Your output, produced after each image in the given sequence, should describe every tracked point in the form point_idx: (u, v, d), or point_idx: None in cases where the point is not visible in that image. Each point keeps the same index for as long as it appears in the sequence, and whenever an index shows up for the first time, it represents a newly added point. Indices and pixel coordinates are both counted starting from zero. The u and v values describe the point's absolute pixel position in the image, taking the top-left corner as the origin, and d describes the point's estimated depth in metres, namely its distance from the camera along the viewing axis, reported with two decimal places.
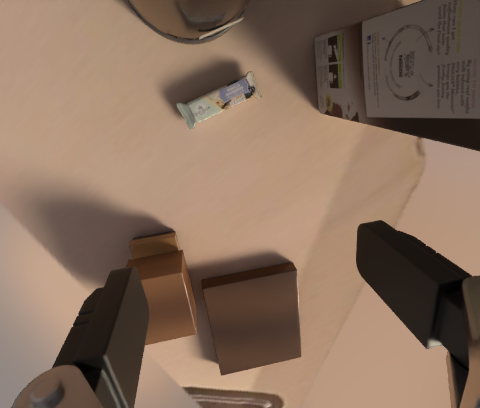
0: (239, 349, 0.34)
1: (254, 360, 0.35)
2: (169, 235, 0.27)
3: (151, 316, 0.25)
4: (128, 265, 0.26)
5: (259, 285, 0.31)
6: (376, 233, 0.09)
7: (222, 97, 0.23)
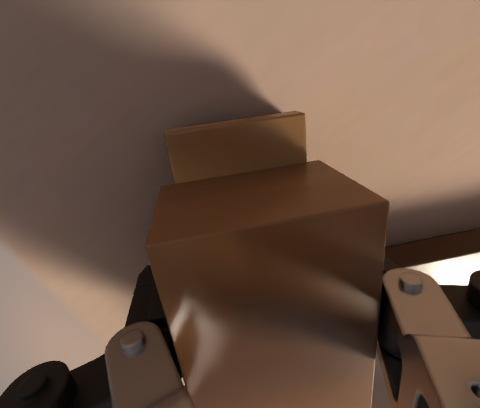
0: None
1: None
2: (284, 113, 0.09)
3: (248, 369, 0.07)
4: (164, 196, 0.08)
5: (474, 271, 0.12)
6: None
7: None
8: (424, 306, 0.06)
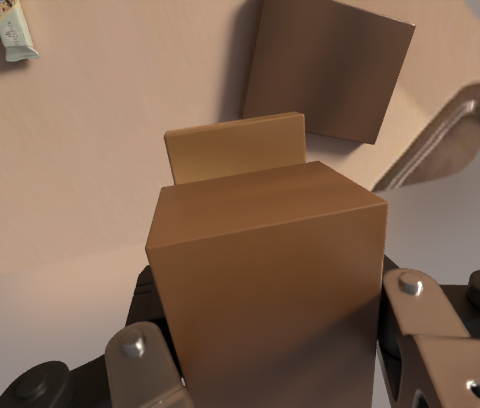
0: (349, 108, 0.26)
1: (378, 95, 0.26)
2: (283, 114, 0.09)
3: (248, 370, 0.07)
4: (164, 197, 0.08)
5: (267, 46, 0.23)
6: None
7: None
8: (424, 306, 0.06)
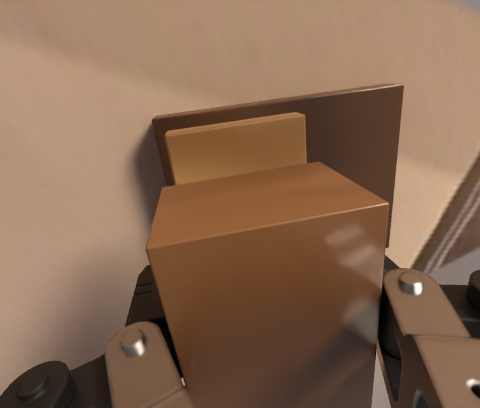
0: None
1: (374, 191, 0.17)
2: (284, 115, 0.09)
3: (248, 370, 0.07)
4: (164, 197, 0.08)
5: None
6: None
7: None
8: (424, 306, 0.06)
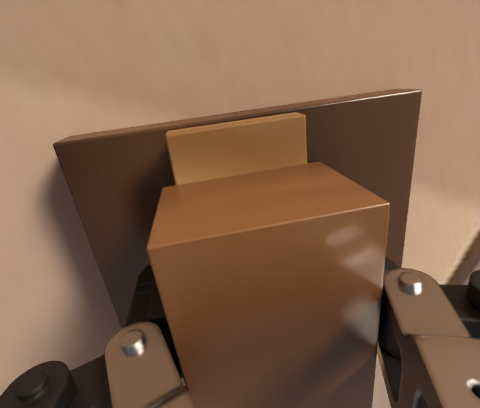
0: None
1: None
2: (284, 115, 0.09)
3: (249, 370, 0.07)
4: (165, 197, 0.08)
5: (120, 248, 0.11)
6: None
7: None
8: (424, 306, 0.06)
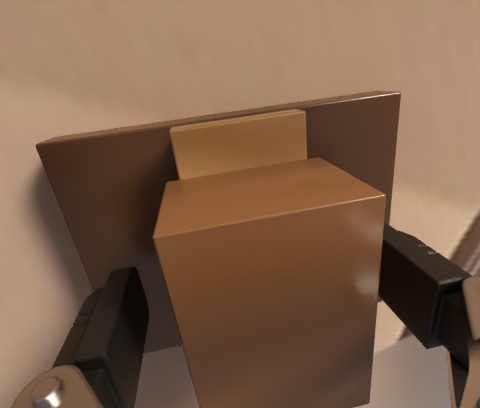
0: None
1: None
2: (285, 112, 0.09)
3: (251, 357, 0.07)
4: (169, 191, 0.08)
5: (103, 247, 0.11)
6: None
7: None
8: None
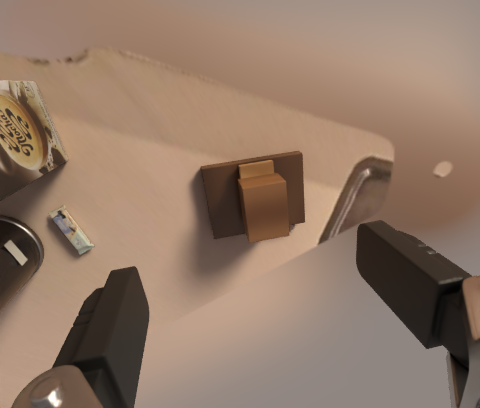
0: None
1: (295, 196, 0.39)
2: (267, 161, 0.36)
3: (259, 217, 0.34)
4: (240, 181, 0.35)
5: (214, 198, 0.38)
6: (376, 233, 0.09)
7: (68, 231, 0.37)
8: None
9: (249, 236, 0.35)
